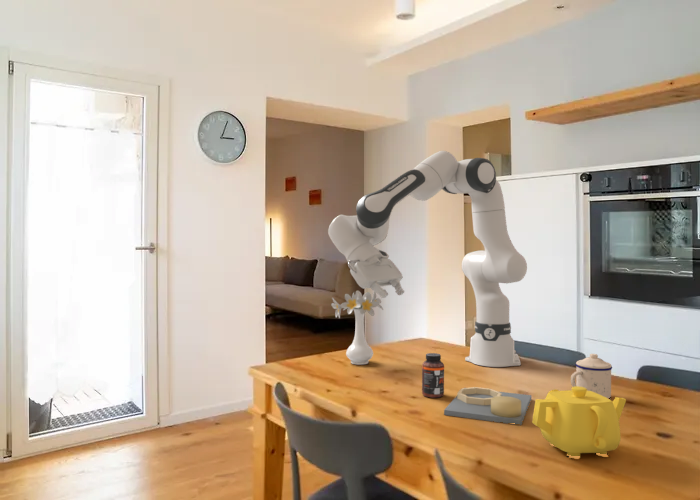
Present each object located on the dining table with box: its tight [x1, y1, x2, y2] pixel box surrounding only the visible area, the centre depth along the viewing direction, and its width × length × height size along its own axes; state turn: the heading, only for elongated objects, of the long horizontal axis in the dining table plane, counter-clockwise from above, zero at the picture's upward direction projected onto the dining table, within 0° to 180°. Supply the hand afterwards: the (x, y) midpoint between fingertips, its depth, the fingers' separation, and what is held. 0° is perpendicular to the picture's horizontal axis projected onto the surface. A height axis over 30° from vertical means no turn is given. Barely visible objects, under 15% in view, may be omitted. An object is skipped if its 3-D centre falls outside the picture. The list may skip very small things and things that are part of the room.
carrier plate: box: [443, 386, 532, 426], centre depth 138 cm, size 22×18×4 cm
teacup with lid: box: [570, 353, 613, 399], centre depth 147 cm, size 12×9×12 cm
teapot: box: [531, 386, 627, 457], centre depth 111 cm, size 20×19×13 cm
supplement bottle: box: [421, 352, 445, 399], centre depth 148 cm, size 6×6×11 cm
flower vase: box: [330, 290, 384, 366], centre depth 187 cm, size 13×18×25 cm
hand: (393, 295), depth 155 cm, fingers open, 8 cm apart
